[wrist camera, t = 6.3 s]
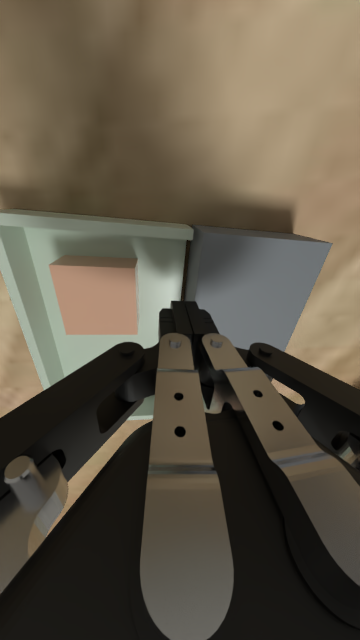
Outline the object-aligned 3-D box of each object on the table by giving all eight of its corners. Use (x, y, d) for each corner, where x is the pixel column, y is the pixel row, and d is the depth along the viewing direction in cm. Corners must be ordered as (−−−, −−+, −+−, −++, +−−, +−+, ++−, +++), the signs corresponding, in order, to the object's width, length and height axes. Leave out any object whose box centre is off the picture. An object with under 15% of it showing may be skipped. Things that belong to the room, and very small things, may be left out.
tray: (13, 208, 13) (-22, 211, 10) (186, 224, 14) (193, 229, 12) (67, 397, 22) (56, 423, 19) (170, 394, 23) (172, 418, 21)
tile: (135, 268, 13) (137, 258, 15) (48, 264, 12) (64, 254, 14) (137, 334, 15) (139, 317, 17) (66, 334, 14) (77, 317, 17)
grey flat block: (192, 224, 15) (204, 232, 11) (293, 233, 16) (332, 243, 12) (173, 394, 24) (176, 427, 20) (238, 392, 25) (252, 423, 21)
